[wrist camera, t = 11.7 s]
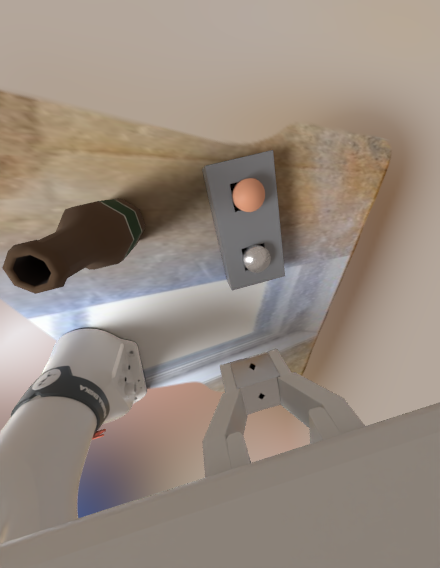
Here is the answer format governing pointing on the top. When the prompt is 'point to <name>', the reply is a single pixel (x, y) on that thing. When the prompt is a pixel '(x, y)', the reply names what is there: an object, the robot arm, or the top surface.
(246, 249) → the grey mushroom plug
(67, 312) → the top surface
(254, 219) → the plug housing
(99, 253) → the beer bottle
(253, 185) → the mushroom push button
